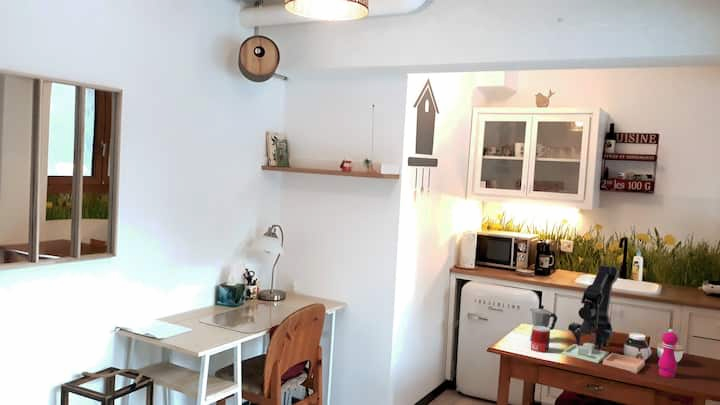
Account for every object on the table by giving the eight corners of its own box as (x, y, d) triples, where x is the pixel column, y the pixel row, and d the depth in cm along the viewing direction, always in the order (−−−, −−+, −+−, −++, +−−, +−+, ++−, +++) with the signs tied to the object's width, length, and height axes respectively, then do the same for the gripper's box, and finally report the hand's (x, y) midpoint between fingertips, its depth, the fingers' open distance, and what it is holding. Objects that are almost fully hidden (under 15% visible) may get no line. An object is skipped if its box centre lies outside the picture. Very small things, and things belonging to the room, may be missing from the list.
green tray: (573, 347, 287) (574, 344, 287) (608, 355, 278) (608, 352, 277) (562, 355, 275) (562, 351, 275) (597, 364, 265) (598, 360, 265)
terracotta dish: (611, 358, 275) (612, 352, 275) (644, 365, 266) (644, 360, 266) (602, 365, 264) (603, 359, 264) (636, 373, 255) (636, 368, 255)
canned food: (549, 354, 275) (551, 331, 274) (531, 352, 277) (533, 329, 276) (547, 349, 282) (549, 326, 282) (529, 347, 284) (531, 324, 283)
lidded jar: (679, 360, 277) (681, 340, 276) (684, 367, 267) (686, 347, 266) (654, 356, 280) (656, 337, 280) (657, 363, 270) (659, 343, 270)
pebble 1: (585, 350, 282) (586, 342, 282) (593, 352, 280) (594, 344, 279) (582, 352, 279) (583, 343, 279) (591, 354, 277) (592, 346, 276)
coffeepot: (522, 338, 298) (525, 303, 296) (534, 336, 303) (536, 301, 302) (548, 347, 285) (551, 310, 284) (560, 344, 291) (563, 308, 290)
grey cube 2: (578, 354, 276) (579, 345, 275) (587, 356, 274) (588, 347, 274) (577, 356, 272) (578, 348, 272) (586, 358, 270) (587, 349, 270)
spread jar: (623, 360, 272) (625, 335, 271) (622, 353, 283) (624, 329, 282) (652, 365, 268) (655, 339, 267) (649, 357, 279) (652, 333, 278)
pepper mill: (653, 371, 259) (658, 326, 258) (669, 371, 260) (673, 326, 258) (663, 377, 252) (668, 331, 251) (679, 378, 253) (684, 331, 251)
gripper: (565, 314, 277) (562, 347, 279) (607, 323, 266) (604, 357, 267) (573, 310, 286) (570, 342, 287) (614, 318, 275) (611, 351, 276)
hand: (588, 348), depth 279 cm, fingers open, 9 cm apart
